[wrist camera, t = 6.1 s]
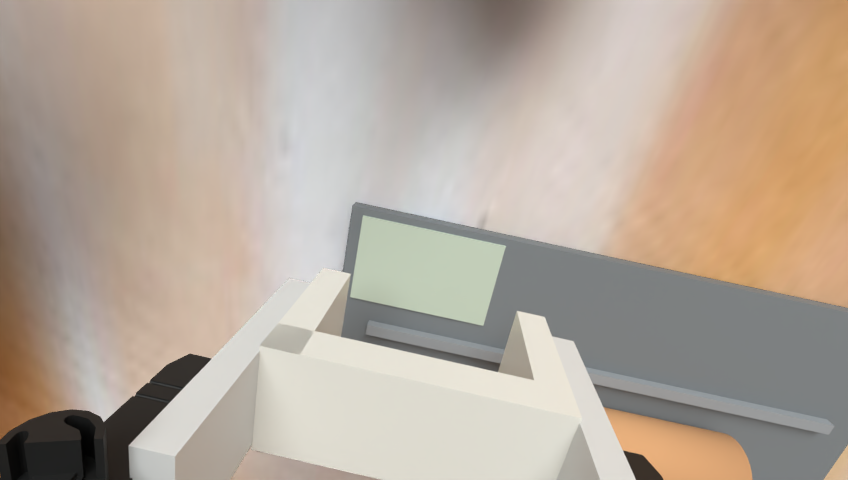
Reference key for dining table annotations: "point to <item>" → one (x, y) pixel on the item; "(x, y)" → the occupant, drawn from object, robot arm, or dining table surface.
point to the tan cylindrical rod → (680, 448)
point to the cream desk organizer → (409, 401)
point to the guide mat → (613, 331)
